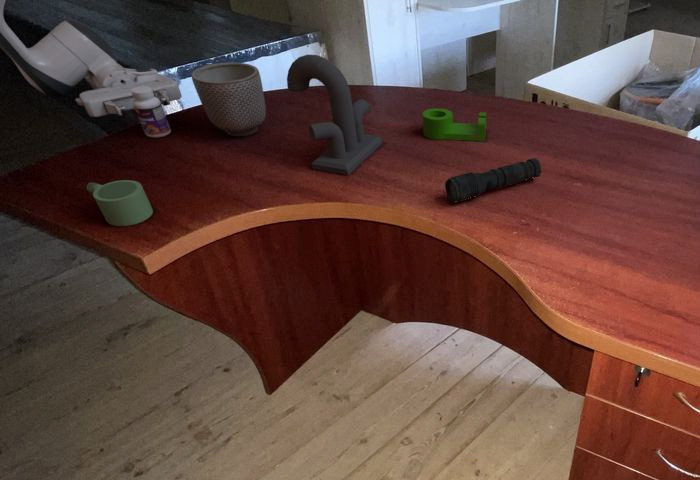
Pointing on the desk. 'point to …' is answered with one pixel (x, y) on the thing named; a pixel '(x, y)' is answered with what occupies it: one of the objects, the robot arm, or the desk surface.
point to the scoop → (122, 202)
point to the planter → (231, 96)
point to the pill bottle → (150, 112)
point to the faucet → (335, 116)
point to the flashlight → (490, 180)
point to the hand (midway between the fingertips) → (144, 106)
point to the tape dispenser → (451, 126)
